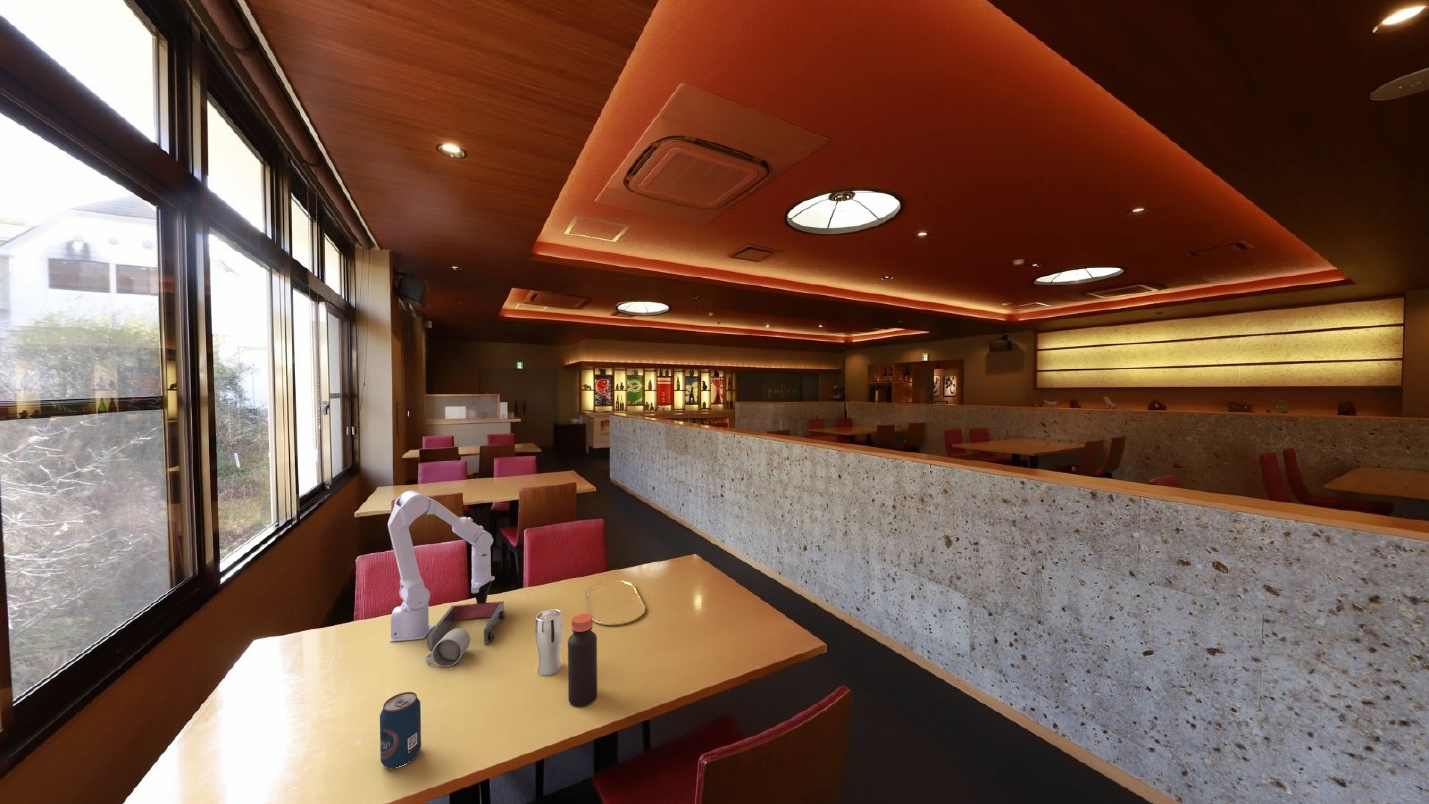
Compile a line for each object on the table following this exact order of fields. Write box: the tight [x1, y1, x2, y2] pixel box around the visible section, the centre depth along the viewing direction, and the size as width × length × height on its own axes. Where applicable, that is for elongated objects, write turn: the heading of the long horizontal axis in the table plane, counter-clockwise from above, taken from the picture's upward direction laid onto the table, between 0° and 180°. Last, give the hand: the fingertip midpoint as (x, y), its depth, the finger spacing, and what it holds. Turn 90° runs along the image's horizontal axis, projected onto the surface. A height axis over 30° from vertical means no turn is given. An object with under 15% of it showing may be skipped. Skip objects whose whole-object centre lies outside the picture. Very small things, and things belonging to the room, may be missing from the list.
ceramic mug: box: [424, 627, 471, 668], centre depth 130 cm, size 11×8×8 cm
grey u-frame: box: [426, 600, 506, 651], centre depth 145 cm, size 18×18×4 cm
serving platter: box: [583, 579, 646, 627], centre depth 164 cm, size 19×35×2 cm, turn 21°
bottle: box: [567, 612, 598, 708], centre depth 113 cm, size 7×7×20 cm
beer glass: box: [535, 608, 564, 677], centre depth 125 cm, size 7×7×15 cm
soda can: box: [379, 691, 422, 769], centre depth 95 cm, size 7×7×12 cm
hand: (481, 605), depth 158 cm, fingers closed
